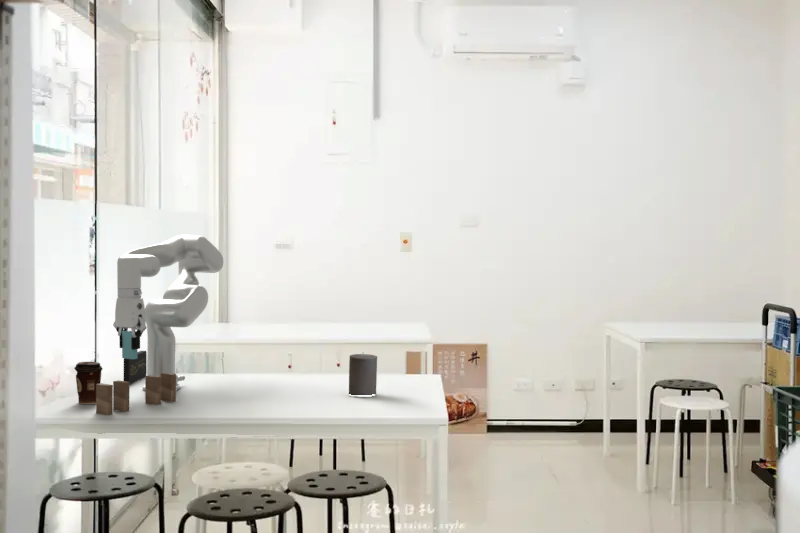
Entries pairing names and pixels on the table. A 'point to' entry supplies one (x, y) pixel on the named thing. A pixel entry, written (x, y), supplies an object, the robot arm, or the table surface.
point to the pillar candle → (362, 374)
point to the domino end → (168, 387)
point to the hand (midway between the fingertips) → (129, 347)
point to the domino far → (104, 399)
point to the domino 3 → (153, 390)
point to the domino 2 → (128, 346)
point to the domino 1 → (121, 396)
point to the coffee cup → (87, 381)
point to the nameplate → (135, 368)
